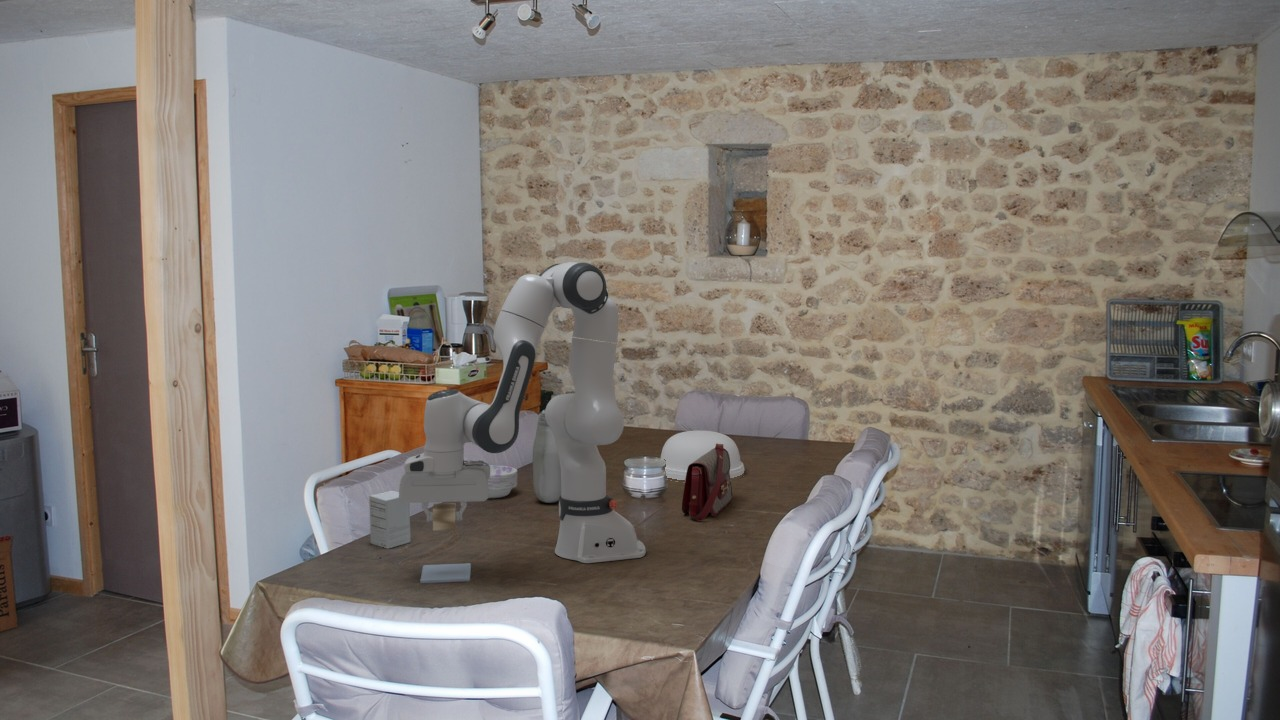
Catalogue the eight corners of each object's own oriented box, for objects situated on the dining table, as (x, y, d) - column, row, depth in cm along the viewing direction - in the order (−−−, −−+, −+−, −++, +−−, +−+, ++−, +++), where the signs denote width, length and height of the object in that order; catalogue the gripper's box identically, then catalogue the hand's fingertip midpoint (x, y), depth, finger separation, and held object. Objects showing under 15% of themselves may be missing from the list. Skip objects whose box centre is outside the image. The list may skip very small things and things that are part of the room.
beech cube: (456, 524, 229) (455, 503, 229) (455, 530, 224) (455, 508, 224) (434, 524, 228) (433, 503, 228) (432, 530, 223) (432, 509, 223)
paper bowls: (522, 489, 308) (522, 464, 307) (511, 501, 293) (511, 475, 292) (474, 488, 310) (474, 463, 309) (461, 500, 295) (460, 474, 294)
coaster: (470, 565, 234) (470, 563, 234) (470, 581, 223) (470, 578, 223) (423, 567, 232) (423, 565, 232) (420, 583, 221) (420, 580, 221)
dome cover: (641, 467, 342) (641, 427, 341) (719, 460, 353) (720, 422, 351) (678, 487, 313) (678, 444, 311) (762, 480, 323) (762, 438, 322)
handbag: (712, 524, 271) (713, 462, 269) (675, 520, 274) (676, 459, 272) (738, 500, 297) (739, 443, 295) (704, 497, 300) (705, 440, 298)
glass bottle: (562, 507, 287) (562, 412, 284) (528, 505, 289) (528, 410, 286) (571, 498, 297) (571, 406, 294) (539, 496, 299) (538, 405, 296)
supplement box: (393, 537, 256) (392, 489, 255) (411, 542, 252) (410, 494, 250) (369, 543, 251) (368, 495, 249) (387, 549, 246) (386, 500, 245)
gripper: (490, 457, 229) (490, 515, 231) (400, 459, 226) (400, 518, 228) (490, 463, 223) (490, 522, 225) (397, 464, 220) (398, 525, 221)
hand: (444, 520), depth 226 cm, fingers closed on beech cube, 5 cm apart
